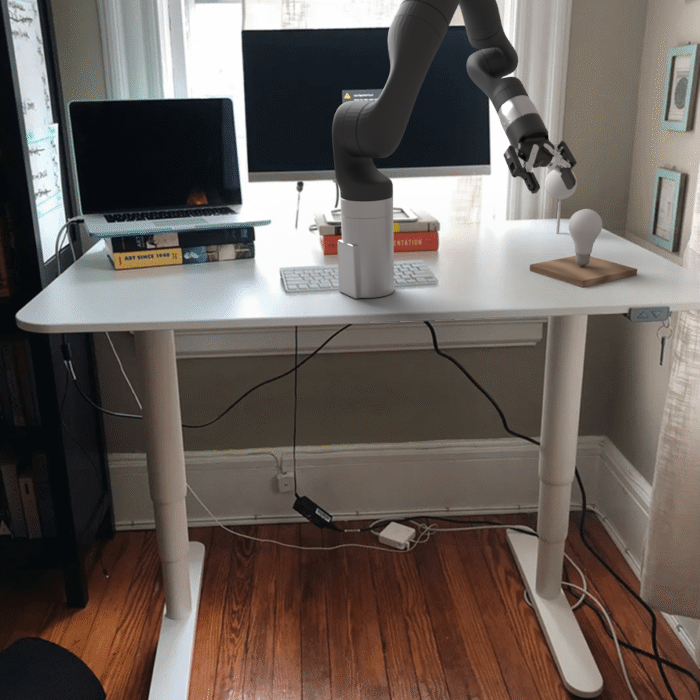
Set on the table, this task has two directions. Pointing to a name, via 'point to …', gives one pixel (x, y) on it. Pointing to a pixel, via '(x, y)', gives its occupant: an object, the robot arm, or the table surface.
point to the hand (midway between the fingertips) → (554, 189)
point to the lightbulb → (584, 233)
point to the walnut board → (583, 271)
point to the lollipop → (558, 190)
